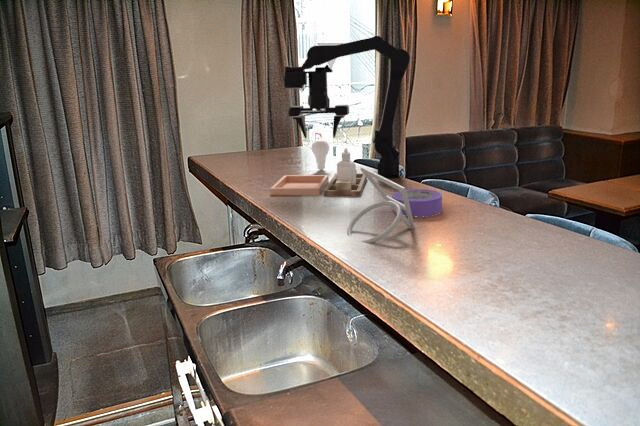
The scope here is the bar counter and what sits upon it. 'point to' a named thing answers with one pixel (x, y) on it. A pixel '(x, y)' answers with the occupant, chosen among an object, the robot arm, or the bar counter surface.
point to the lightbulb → (320, 152)
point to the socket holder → (354, 191)
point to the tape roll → (421, 202)
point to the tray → (300, 185)
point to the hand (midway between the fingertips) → (319, 137)
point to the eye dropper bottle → (346, 168)
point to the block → (343, 185)
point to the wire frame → (389, 201)
